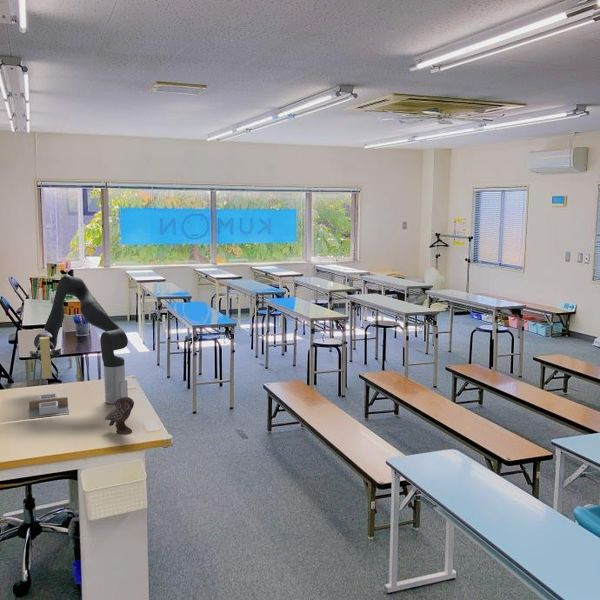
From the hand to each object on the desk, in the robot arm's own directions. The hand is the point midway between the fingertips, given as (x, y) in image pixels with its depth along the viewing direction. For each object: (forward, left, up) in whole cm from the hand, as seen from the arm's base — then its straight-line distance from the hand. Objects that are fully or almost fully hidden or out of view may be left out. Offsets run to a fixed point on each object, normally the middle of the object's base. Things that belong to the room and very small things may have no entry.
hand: (45, 357), depth 281 cm
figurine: (-48, +23, -23) cm, 58 cm away
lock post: (+2, -2, -10) cm, 10 cm away
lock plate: (-2, +3, -23) cm, 23 cm away
